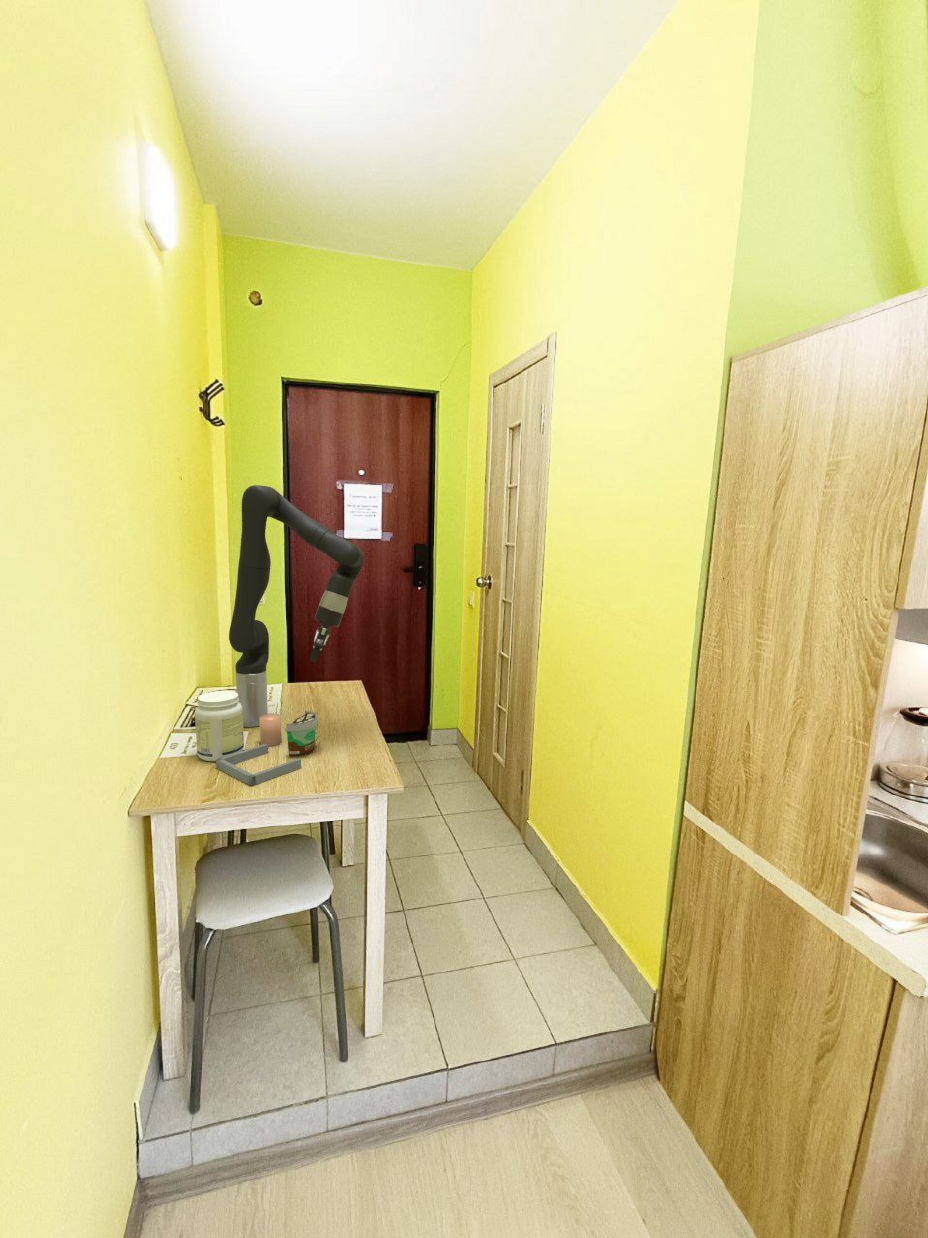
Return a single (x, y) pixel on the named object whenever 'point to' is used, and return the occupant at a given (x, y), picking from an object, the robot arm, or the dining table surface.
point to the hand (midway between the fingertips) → (312, 660)
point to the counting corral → (254, 779)
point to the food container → (302, 735)
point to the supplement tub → (219, 725)
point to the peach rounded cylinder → (270, 729)
